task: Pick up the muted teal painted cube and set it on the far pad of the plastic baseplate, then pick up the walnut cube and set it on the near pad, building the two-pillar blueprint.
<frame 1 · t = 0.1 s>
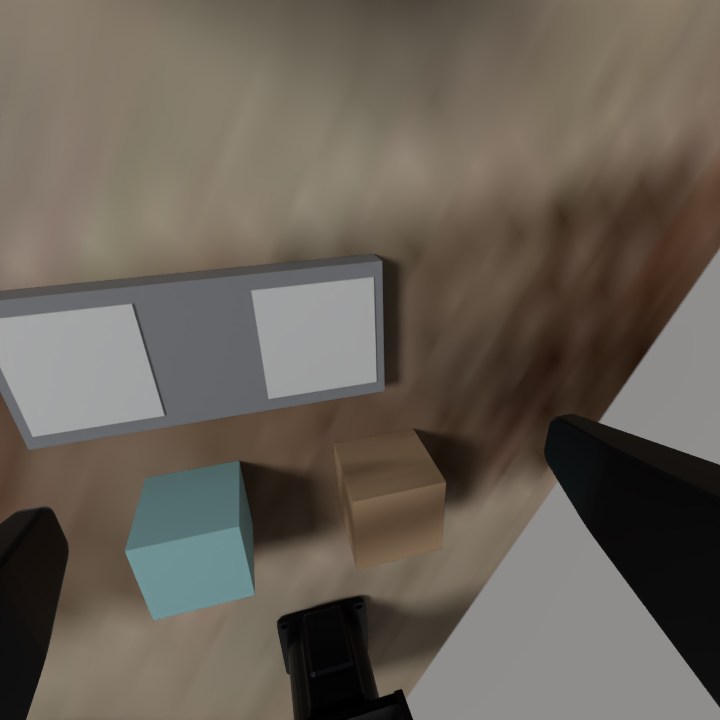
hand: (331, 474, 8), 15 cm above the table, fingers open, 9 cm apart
baseplate: (208, 342, 21), on the table
teal block: (202, 501, 25), on the table
walnut block: (374, 466, 27), on the table
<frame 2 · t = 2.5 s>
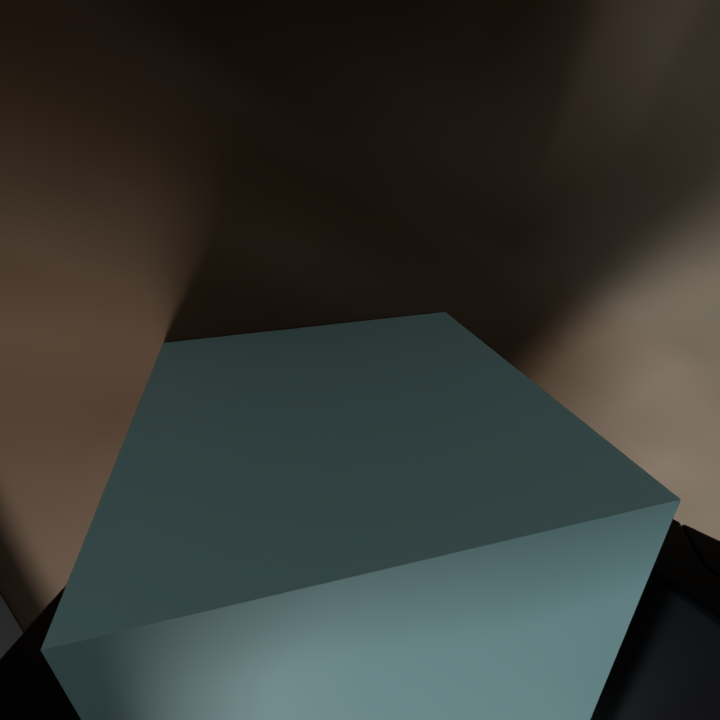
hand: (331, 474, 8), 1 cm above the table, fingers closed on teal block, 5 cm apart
teal block: (322, 441, 9), on the table, touching gripper
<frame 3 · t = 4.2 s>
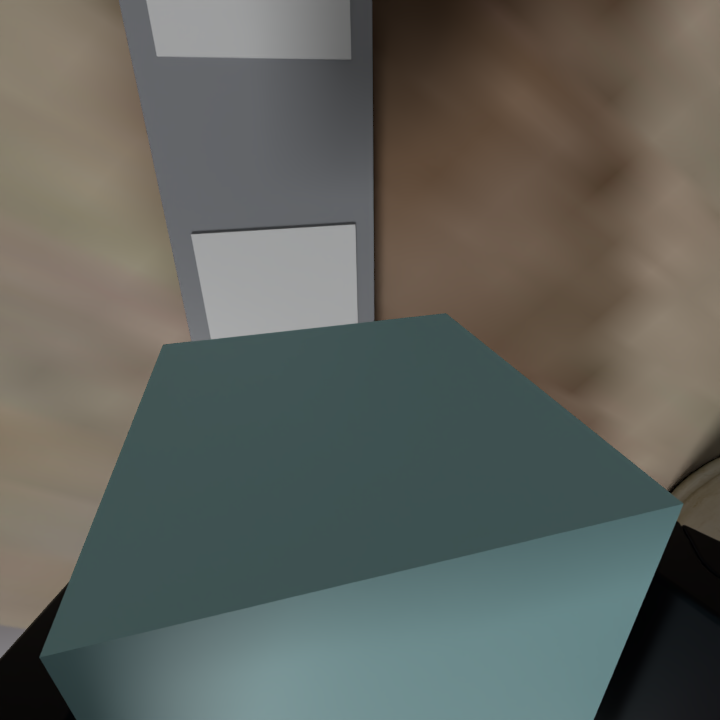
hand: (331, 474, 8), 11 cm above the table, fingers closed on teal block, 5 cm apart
baseplate: (265, 150, 15), on the table
jug: (707, 510, 33), on the table
teal block: (322, 442, 9), point 10 cm above the table, touching gripper
when the fingers open (3 cm above the table, at t = 5.9 s): teal block stays where it is, resting on baseplate.
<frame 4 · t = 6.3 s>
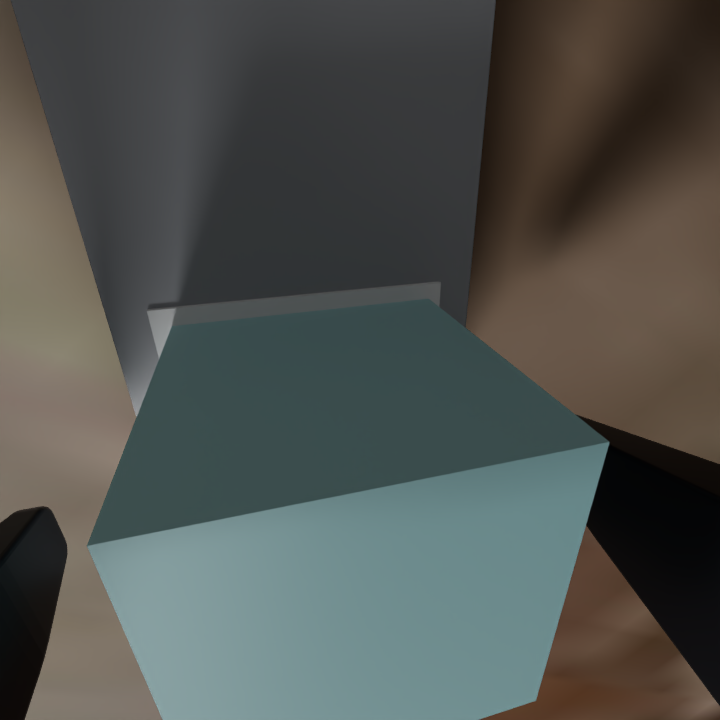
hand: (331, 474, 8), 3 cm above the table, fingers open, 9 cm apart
baseplate: (283, 152, 9), on the table
teal block: (317, 418, 9), point 2 cm above the table, touching baseplate
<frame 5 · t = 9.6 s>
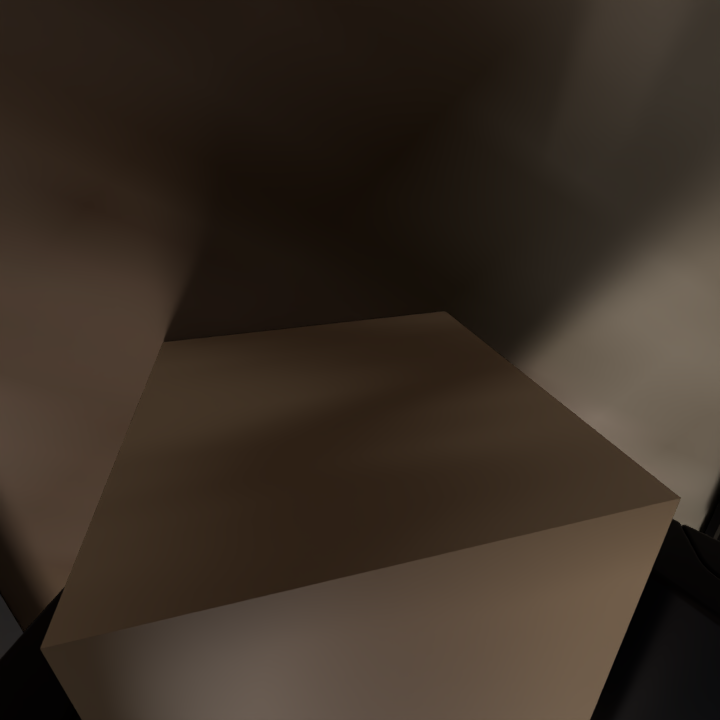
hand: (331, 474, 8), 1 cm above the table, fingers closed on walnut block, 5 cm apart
walnut block: (322, 440, 9), on the table, touching gripper
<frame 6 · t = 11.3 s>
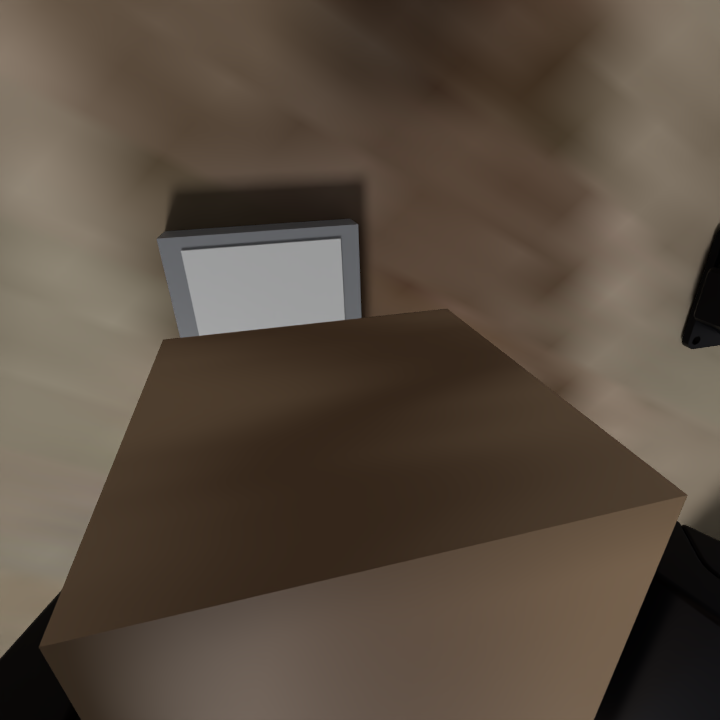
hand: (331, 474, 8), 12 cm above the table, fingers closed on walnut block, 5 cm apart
baseplate: (285, 411, 20), on the table
walnut block: (323, 439, 9), point 10 cm above the table, touching gripper
when the fingers open (3 cm above the table, at t = 13.2 s): walnut block stays where it is, resting on baseplate.
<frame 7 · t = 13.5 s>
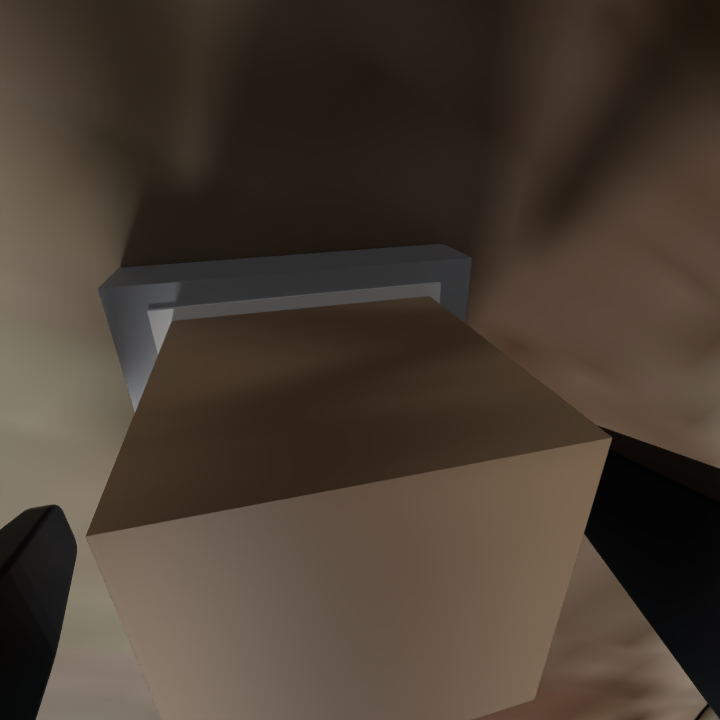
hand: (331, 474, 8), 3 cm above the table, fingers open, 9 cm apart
baseplate: (318, 533, 13), on the table
walnut block: (316, 416, 9), point 2 cm above the table, touching baseplate
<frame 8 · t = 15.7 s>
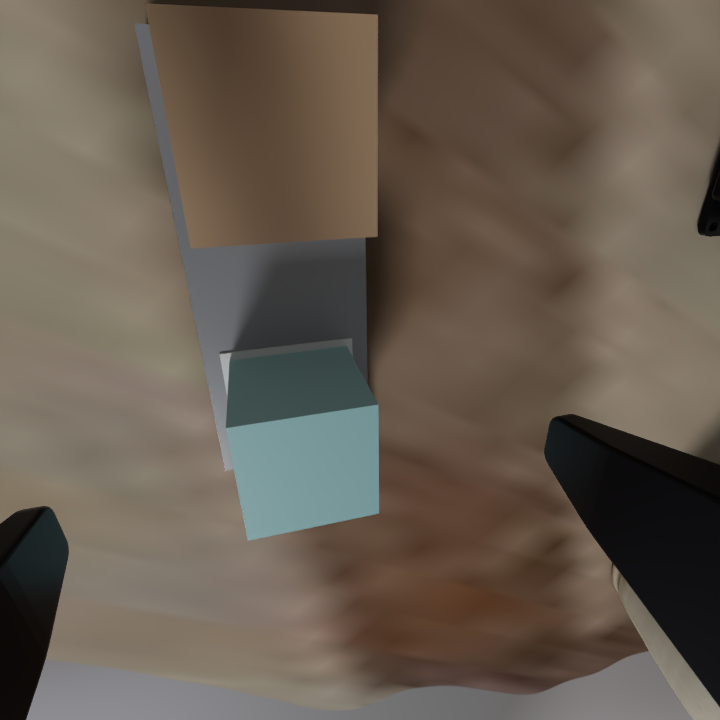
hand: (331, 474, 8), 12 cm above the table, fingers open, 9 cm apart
baseplate: (279, 279, 19), on the table
jug: (670, 542, 36), on the table
teal block: (295, 402, 20), point 2 cm above the table, touching baseplate
walnut block: (268, 141, 15), point 2 cm above the table, touching baseplate
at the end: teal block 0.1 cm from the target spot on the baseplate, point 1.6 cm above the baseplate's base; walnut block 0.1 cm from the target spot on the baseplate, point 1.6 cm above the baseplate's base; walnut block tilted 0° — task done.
